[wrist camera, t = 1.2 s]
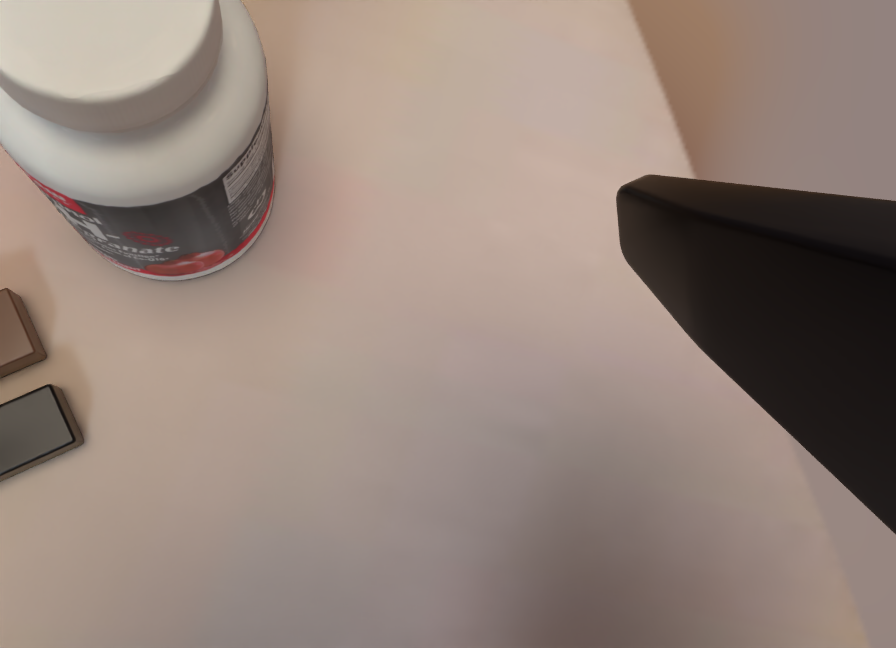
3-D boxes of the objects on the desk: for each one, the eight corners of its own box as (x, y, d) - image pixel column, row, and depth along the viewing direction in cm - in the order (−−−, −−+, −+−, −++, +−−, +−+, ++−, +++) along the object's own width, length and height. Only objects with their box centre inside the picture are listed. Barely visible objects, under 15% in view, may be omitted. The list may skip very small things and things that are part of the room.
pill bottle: (45, 261, 22) (-149, 92, 13) (99, 76, 23) (-41, -208, 14) (252, 304, 23) (218, 175, 13) (295, 122, 24) (291, -117, 14)
